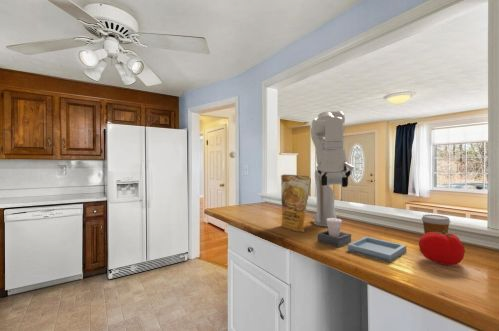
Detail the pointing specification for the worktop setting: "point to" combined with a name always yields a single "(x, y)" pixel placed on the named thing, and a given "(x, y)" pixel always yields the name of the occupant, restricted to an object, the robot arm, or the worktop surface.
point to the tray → (377, 248)
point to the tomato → (442, 248)
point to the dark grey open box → (334, 239)
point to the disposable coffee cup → (435, 223)
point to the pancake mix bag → (294, 201)
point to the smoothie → (334, 226)
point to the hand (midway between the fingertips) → (334, 186)
